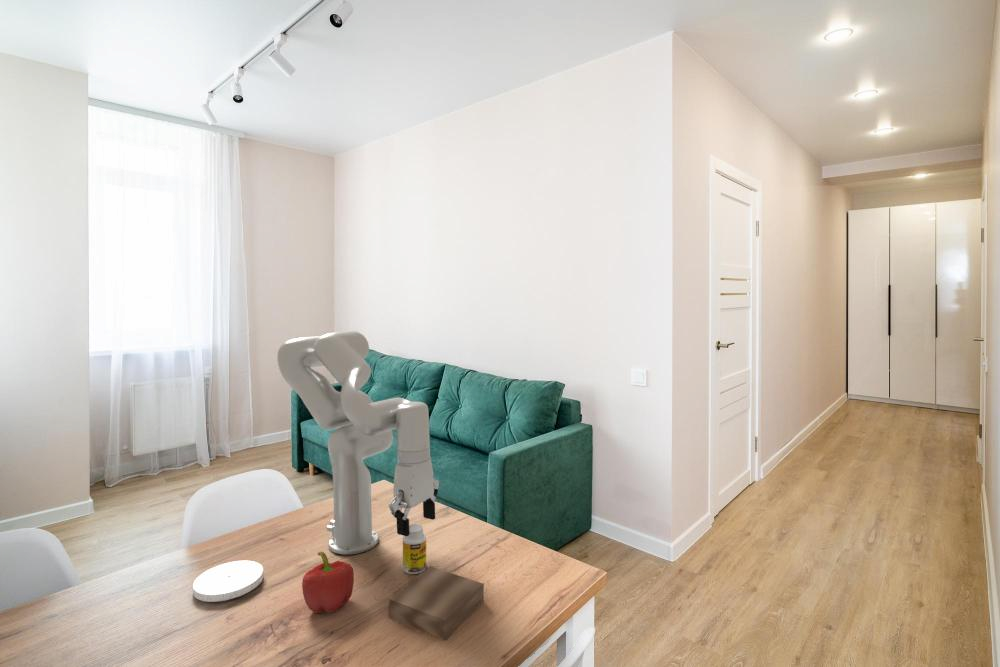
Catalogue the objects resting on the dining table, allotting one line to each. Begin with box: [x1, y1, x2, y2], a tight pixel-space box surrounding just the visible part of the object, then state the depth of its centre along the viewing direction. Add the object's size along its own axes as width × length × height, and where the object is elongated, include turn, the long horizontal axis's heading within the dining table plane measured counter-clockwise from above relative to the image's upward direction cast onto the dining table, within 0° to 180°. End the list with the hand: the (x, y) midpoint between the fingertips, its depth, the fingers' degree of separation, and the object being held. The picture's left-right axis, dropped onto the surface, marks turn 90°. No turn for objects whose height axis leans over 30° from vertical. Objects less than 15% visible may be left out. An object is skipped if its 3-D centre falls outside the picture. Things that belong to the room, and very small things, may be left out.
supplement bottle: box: [402, 523, 427, 575], centre depth 121 cm, size 6×6×10 cm
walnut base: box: [388, 566, 485, 641], centre depth 106 cm, size 14×14×4 cm
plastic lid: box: [192, 559, 264, 603], centre depth 114 cm, size 14×14×2 cm
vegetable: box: [301, 551, 355, 614], centre depth 107 cm, size 11×10×10 cm
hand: (416, 526), depth 120 cm, fingers open, 9 cm apart
